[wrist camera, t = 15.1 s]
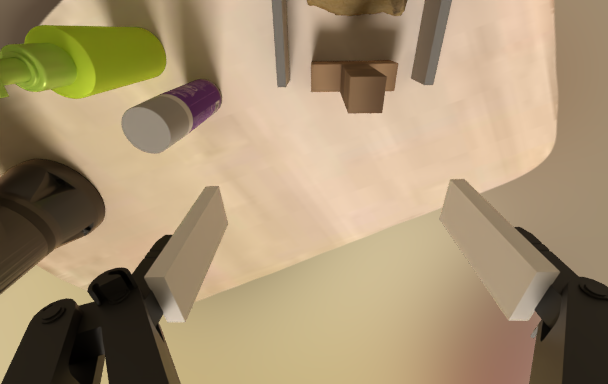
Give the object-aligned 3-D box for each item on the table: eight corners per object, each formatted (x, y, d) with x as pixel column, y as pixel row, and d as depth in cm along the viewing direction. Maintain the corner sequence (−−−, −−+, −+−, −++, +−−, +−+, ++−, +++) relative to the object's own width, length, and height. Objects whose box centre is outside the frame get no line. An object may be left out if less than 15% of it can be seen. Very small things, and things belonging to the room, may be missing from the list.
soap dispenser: (160, 20, 33) (-13, 9, 15) (169, 80, 36) (37, 124, 19) (112, 14, 32) (-115, -5, 15) (126, 75, 36) (-46, 114, 19)
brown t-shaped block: (311, 86, 36) (309, 113, 24) (311, 61, 34) (308, 77, 22) (386, 85, 35) (422, 112, 23) (390, 60, 34) (429, 76, 22)
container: (213, 74, 36) (155, 99, 23) (227, 109, 38) (181, 149, 25) (182, 83, 36) (109, 112, 23) (197, 116, 39) (138, 159, 26)
